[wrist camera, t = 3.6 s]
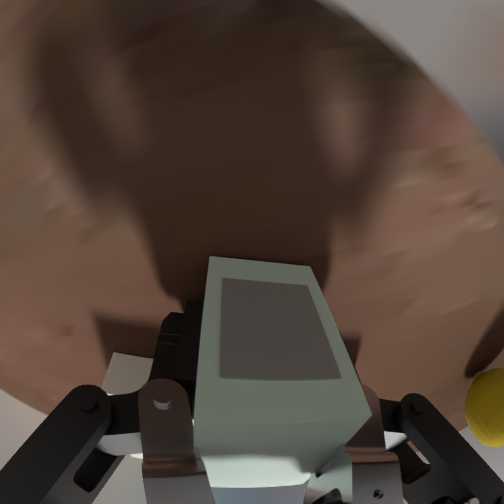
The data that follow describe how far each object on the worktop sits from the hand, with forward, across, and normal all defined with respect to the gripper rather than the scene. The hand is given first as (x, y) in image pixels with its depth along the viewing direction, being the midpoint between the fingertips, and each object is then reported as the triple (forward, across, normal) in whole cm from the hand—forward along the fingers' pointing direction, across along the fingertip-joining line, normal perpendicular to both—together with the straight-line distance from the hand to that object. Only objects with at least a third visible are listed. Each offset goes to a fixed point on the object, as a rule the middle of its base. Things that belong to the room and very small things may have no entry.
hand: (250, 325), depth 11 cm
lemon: (+1, -20, +6) cm, 21 cm away
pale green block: (0, 0, 0) cm, 0 cm away
